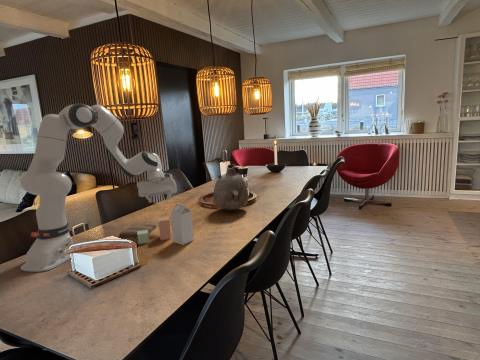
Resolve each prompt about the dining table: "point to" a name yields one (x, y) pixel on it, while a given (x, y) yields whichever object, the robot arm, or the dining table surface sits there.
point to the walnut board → (133, 230)
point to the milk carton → (182, 224)
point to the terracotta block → (164, 228)
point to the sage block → (143, 236)
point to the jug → (230, 190)
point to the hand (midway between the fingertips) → (159, 200)
